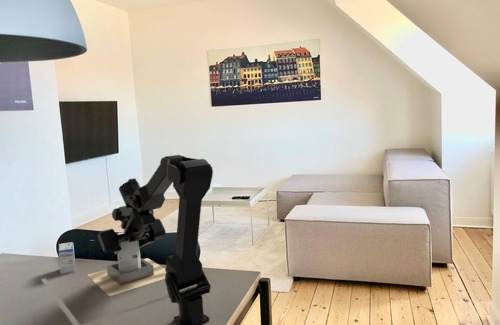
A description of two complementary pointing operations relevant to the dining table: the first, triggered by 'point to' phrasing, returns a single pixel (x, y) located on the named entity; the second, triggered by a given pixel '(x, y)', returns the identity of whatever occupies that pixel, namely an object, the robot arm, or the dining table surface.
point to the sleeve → (130, 273)
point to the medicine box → (66, 258)
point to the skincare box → (129, 256)
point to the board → (114, 288)
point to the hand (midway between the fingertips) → (126, 249)
